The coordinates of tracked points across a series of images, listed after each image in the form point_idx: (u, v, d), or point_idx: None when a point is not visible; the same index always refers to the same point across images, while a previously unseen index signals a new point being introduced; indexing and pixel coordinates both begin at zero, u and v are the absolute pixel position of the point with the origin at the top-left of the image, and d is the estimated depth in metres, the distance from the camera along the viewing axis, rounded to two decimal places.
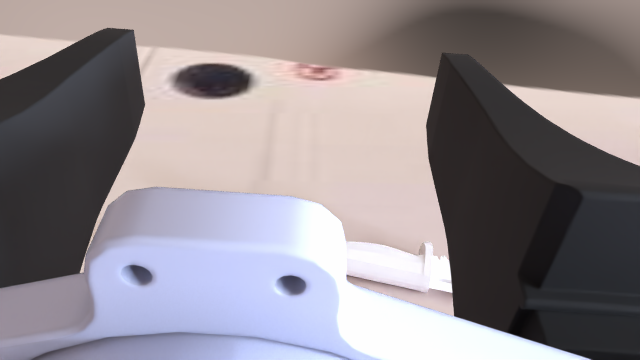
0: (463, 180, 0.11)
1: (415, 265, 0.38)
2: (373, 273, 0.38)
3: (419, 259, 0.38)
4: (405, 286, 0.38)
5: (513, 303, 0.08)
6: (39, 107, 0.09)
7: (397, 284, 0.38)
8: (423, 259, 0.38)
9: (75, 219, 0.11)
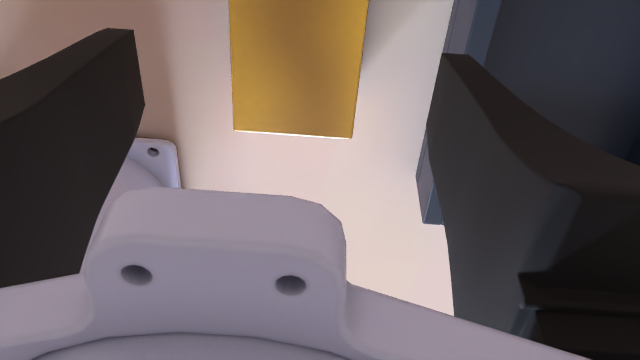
0: (463, 180, 0.11)
1: None
2: None
3: None
4: None
5: (513, 303, 0.08)
6: (39, 107, 0.09)
7: None
8: None
9: (75, 219, 0.11)
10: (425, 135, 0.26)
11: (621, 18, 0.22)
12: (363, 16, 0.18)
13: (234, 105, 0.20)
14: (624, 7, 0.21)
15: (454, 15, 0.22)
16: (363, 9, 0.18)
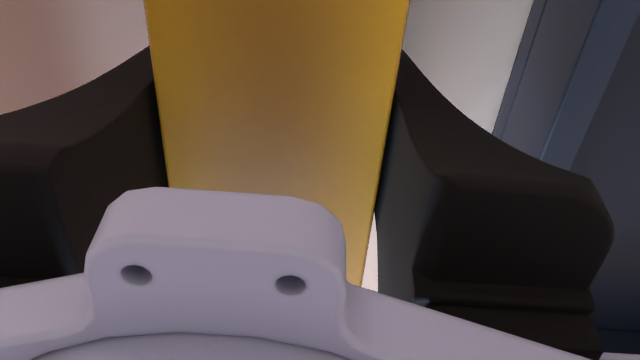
0: (387, 175, 0.11)
1: None
2: None
3: None
4: None
5: (408, 296, 0.08)
6: (128, 113, 0.09)
7: None
8: None
9: None
10: None
11: None
12: (372, 190, 0.12)
13: None
14: None
15: None
16: (372, 181, 0.11)
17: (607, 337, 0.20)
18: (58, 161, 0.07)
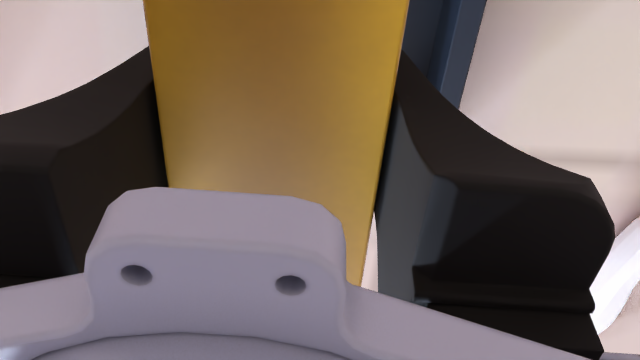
0: (387, 175, 0.11)
1: None
2: None
3: None
4: None
5: (408, 296, 0.08)
6: (128, 113, 0.09)
7: None
8: None
9: None
10: None
11: None
12: (372, 188, 0.12)
13: None
14: None
15: None
16: (372, 179, 0.11)
17: None
18: (58, 161, 0.07)
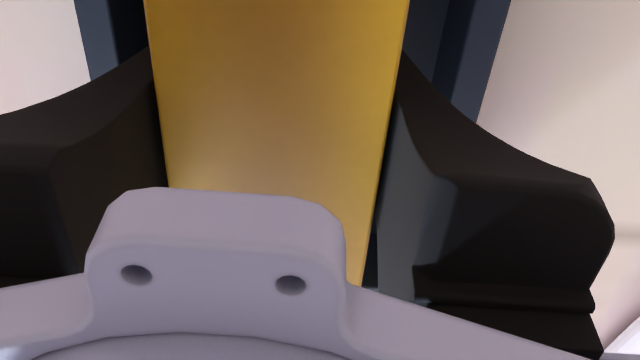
0: (387, 175, 0.11)
1: None
2: None
3: None
4: None
5: (408, 296, 0.08)
6: (128, 113, 0.09)
7: None
8: None
9: None
10: None
11: None
12: (372, 188, 0.12)
13: None
14: None
15: None
16: (372, 179, 0.11)
17: None
18: (58, 161, 0.07)
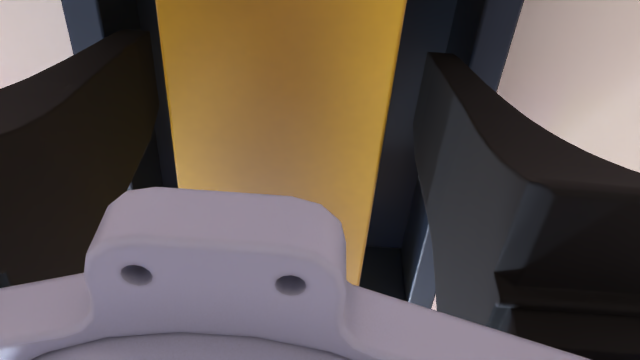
0: (446, 179, 0.11)
1: None
2: None
3: None
4: None
5: (489, 301, 0.08)
6: (62, 108, 0.09)
7: None
8: None
9: (95, 220, 0.11)
10: None
11: None
12: (373, 171, 0.12)
13: None
14: None
15: None
16: (373, 162, 0.12)
17: None
18: None
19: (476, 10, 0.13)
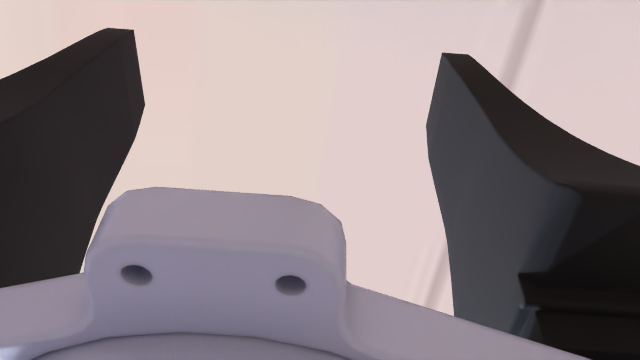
0: (463, 180, 0.11)
1: None
2: None
3: None
4: None
5: (513, 303, 0.08)
6: (39, 106, 0.09)
7: None
8: None
9: (76, 219, 0.11)
10: None
11: None
12: None
13: None
14: None
15: None
16: None
17: None
18: None
19: None
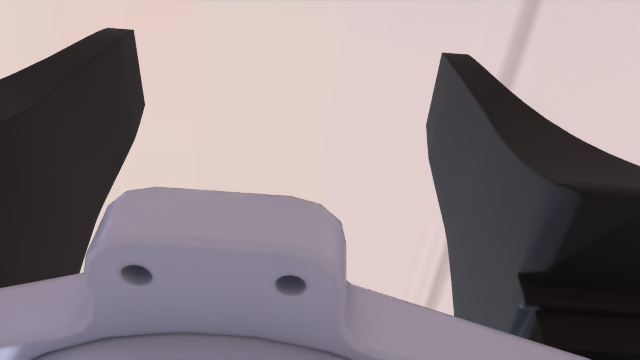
0: (463, 180, 0.11)
1: None
2: None
3: None
4: None
5: (513, 303, 0.08)
6: (39, 106, 0.09)
7: None
8: None
9: (76, 219, 0.11)
10: None
11: None
12: None
13: None
14: None
15: None
16: None
17: None
18: None
19: None
